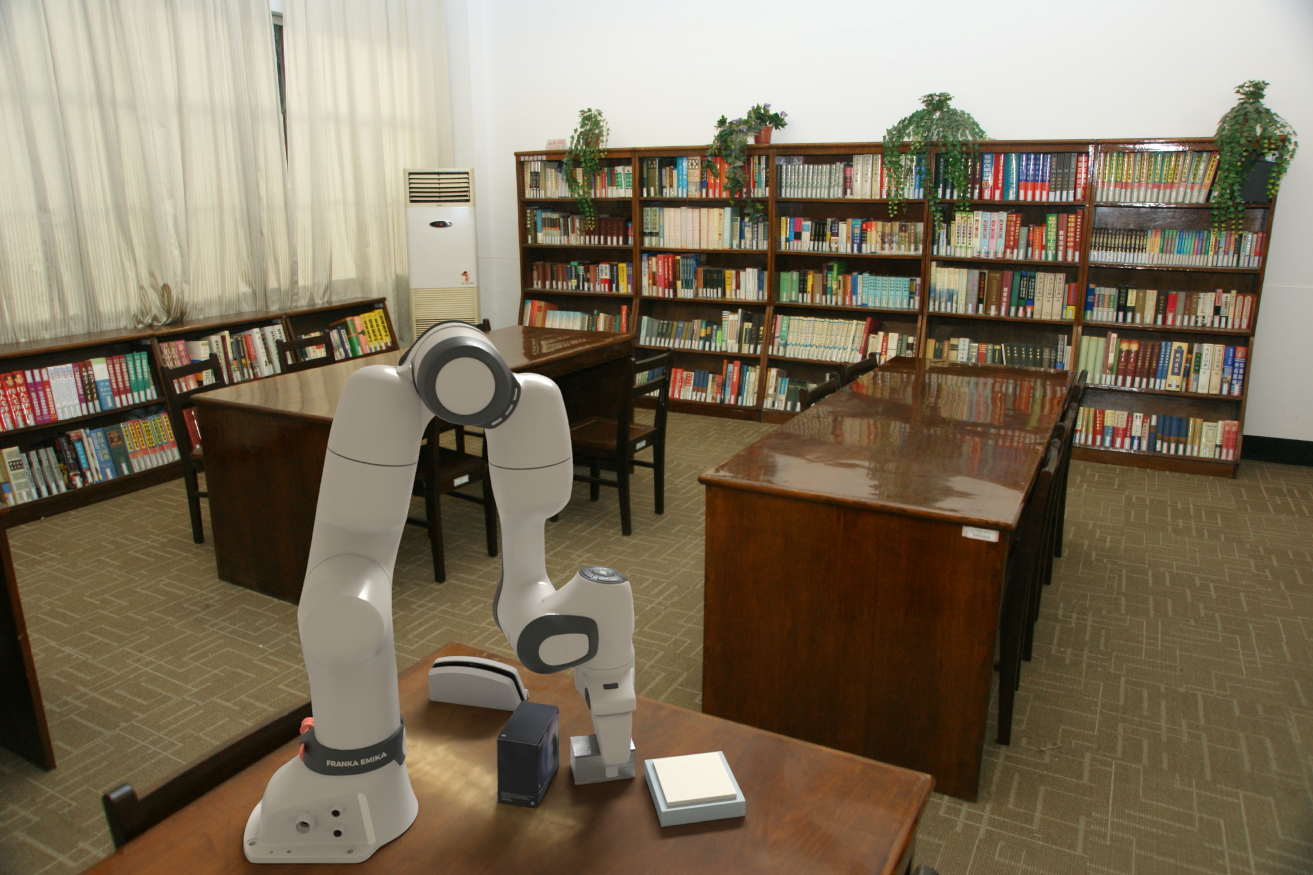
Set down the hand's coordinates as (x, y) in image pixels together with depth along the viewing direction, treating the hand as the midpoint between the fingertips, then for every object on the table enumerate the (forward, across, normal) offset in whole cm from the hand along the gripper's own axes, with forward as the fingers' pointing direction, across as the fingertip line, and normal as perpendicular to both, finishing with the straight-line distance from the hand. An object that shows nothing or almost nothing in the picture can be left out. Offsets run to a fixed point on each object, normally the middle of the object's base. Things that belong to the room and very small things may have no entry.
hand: (606, 755), depth 136 cm
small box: (+3, +1, -12) cm, 12 cm away
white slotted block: (+3, -23, -19) cm, 30 cm away
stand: (+3, +8, +12) cm, 14 cm away
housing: (+3, 0, -1) cm, 3 cm away
